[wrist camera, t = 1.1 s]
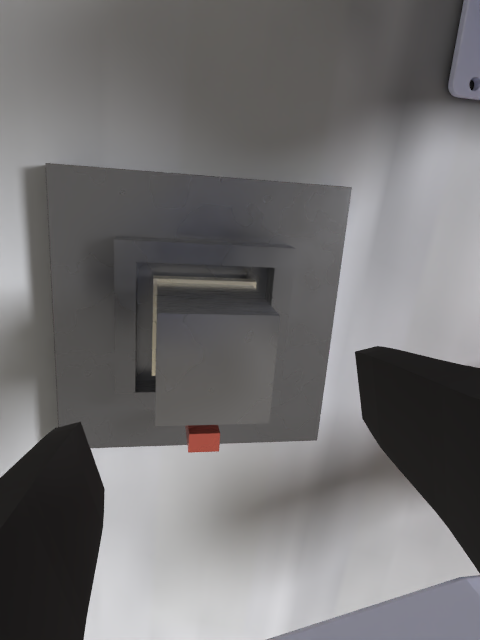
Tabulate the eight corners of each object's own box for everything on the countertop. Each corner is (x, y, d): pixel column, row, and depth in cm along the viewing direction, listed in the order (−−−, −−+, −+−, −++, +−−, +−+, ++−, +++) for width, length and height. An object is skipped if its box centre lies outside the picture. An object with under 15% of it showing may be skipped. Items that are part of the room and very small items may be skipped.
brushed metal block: (252, 277, 19) (285, 311, 14) (244, 367, 20) (272, 426, 15) (153, 273, 18) (152, 308, 13) (151, 367, 19) (150, 430, 14)
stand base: (342, 186, 20) (389, 188, 16) (310, 429, 23) (342, 481, 19) (51, 164, 17) (20, 159, 13) (63, 436, 21) (42, 497, 17)
